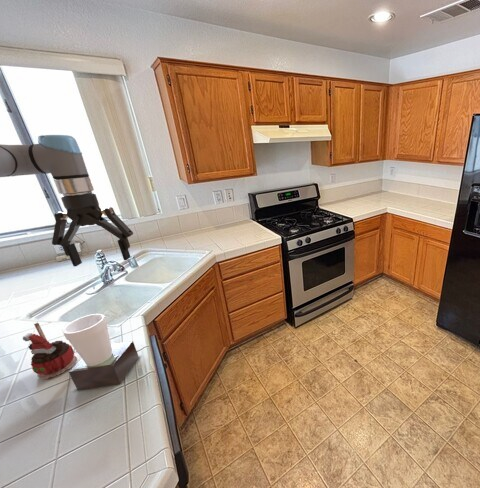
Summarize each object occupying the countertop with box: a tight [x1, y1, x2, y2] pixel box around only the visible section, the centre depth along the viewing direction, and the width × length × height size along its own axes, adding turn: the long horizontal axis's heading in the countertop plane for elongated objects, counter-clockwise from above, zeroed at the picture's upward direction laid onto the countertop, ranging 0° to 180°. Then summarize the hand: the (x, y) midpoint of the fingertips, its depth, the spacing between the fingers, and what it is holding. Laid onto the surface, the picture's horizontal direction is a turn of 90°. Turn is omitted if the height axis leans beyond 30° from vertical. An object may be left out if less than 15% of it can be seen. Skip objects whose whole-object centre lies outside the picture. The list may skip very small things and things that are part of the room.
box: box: [68, 340, 140, 391], centre depth 83 cm, size 12×11×7 cm
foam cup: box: [61, 313, 112, 366], centre depth 78 cm, size 10×9×13 cm
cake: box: [22, 322, 78, 380], centre depth 84 cm, size 11×9×18 cm
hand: (103, 261), depth 82 cm, fingers open, 13 cm apart
